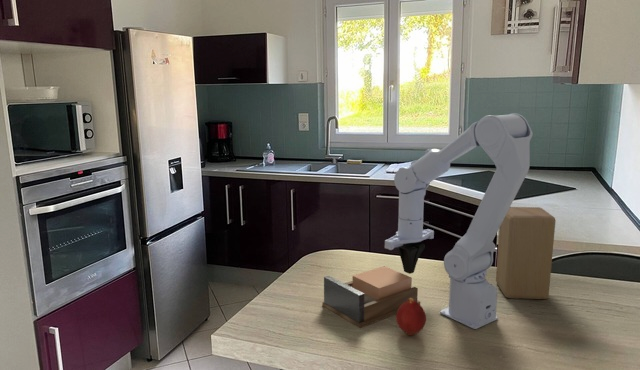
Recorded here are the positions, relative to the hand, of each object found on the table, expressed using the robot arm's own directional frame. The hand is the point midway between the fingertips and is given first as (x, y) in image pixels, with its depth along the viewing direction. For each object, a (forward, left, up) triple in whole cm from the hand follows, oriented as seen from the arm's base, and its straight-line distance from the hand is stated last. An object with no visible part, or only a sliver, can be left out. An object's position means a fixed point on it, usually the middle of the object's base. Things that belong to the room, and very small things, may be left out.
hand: (408, 272), depth 118 cm
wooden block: (-16, -22, -5) cm, 28 cm away
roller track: (0, +12, -5) cm, 13 cm away
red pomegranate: (-15, +15, -5) cm, 22 cm away
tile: (0, +9, -2) cm, 9 cm away
